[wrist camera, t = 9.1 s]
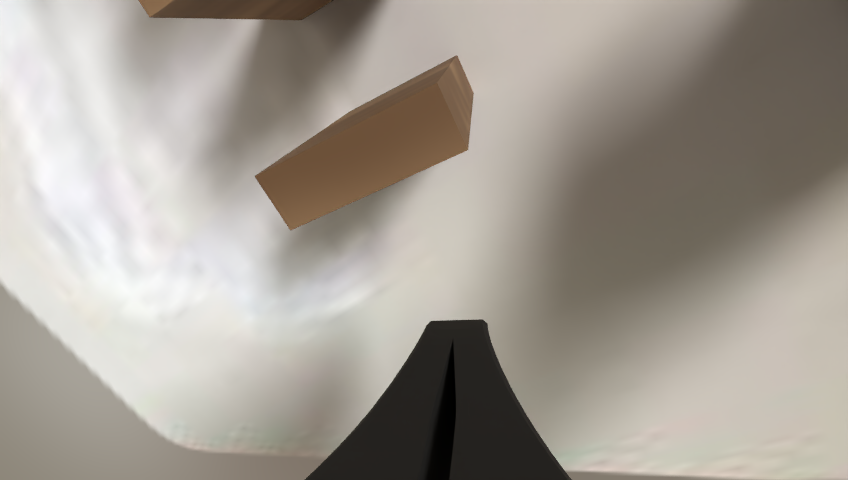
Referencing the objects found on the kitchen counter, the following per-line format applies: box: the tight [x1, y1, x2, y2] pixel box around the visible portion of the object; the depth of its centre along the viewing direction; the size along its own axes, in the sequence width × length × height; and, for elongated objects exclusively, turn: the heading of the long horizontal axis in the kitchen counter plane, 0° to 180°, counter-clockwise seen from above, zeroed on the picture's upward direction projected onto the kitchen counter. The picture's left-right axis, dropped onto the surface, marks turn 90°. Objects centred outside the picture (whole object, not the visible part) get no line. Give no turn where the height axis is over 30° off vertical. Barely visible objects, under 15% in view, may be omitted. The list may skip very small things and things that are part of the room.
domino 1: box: [255, 56, 474, 230], centre depth 14 cm, size 2×5×9 cm, turn 117°
